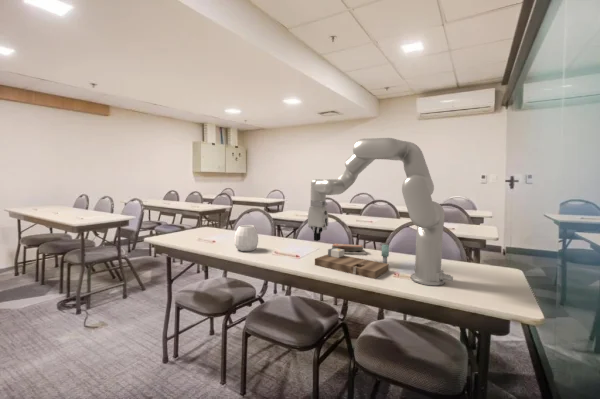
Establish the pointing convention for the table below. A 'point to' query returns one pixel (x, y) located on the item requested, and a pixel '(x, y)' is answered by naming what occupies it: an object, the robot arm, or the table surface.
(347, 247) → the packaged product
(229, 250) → the table surface
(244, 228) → the white faceted vase
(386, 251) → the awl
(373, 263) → the subfloor panel
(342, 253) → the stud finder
